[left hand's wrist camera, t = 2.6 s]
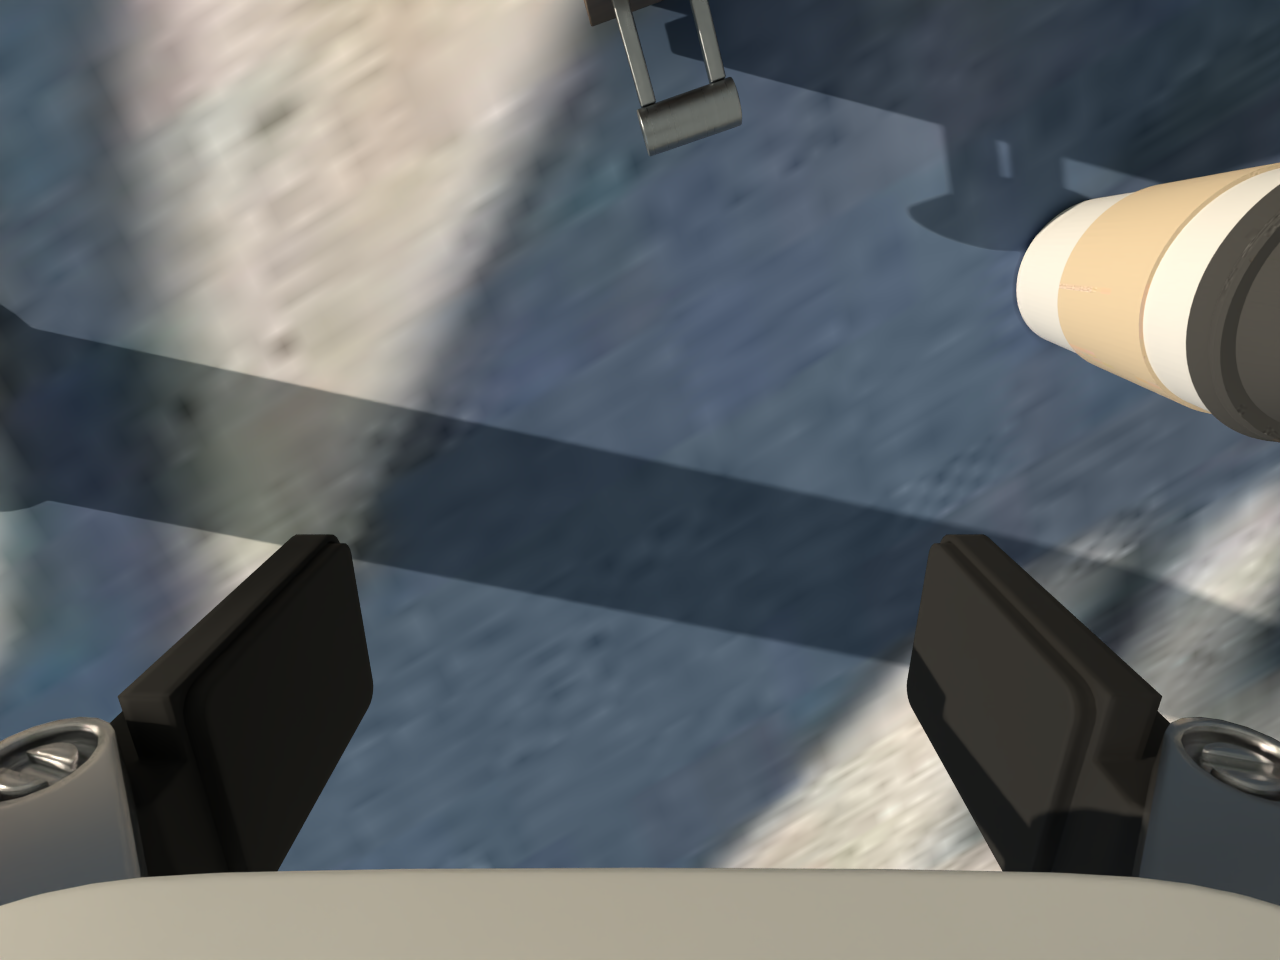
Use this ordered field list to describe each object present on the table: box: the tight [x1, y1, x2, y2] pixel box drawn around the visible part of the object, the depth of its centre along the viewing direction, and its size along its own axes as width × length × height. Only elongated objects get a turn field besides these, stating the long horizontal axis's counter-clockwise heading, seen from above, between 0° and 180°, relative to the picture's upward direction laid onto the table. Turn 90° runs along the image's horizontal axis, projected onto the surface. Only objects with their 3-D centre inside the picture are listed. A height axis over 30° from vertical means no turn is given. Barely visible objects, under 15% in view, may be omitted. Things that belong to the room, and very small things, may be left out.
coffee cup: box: [1016, 163, 1280, 442], centre depth 26 cm, size 9×9×15 cm
